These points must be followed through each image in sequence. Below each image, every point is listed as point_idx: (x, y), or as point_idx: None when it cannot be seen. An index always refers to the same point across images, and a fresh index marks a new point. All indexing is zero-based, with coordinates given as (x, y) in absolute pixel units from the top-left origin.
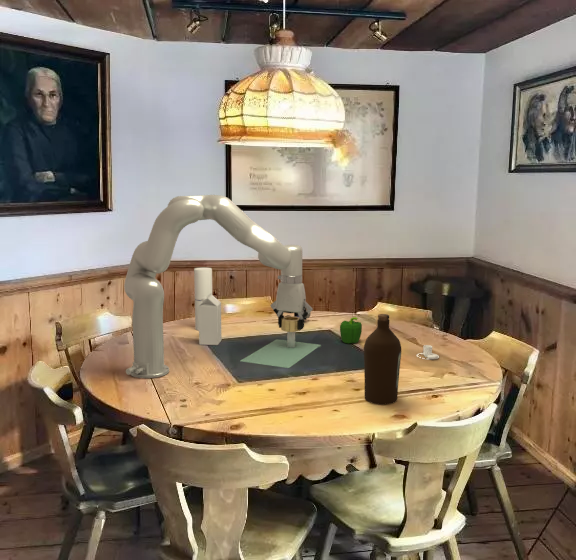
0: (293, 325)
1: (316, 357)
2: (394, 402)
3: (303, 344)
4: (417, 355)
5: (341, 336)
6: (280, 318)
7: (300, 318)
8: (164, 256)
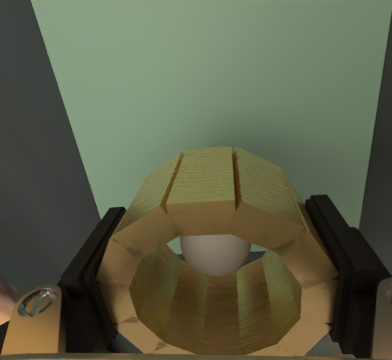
0: (140, 197)
1: (50, 121)
2: None
3: None
4: None
5: (92, 352)
6: (346, 259)
7: (58, 295)
8: None
